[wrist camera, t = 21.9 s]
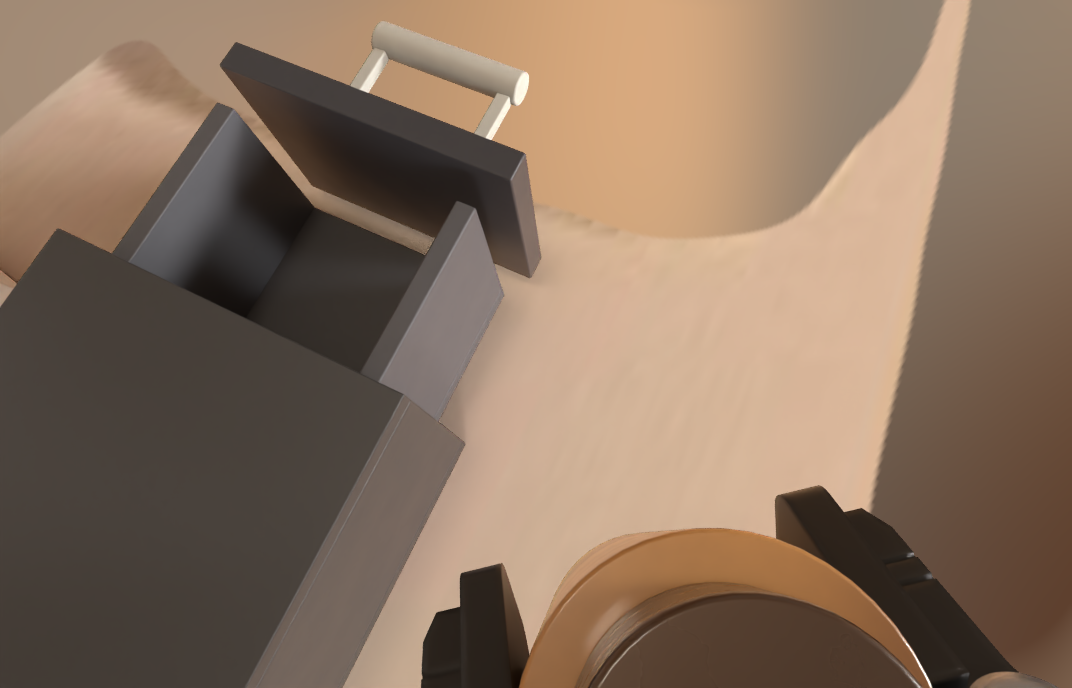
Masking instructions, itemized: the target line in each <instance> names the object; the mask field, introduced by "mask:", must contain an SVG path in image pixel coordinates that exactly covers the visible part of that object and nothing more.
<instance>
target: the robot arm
mask: <svg viewBox="0 0 1072 688" xmlns="http://www.w3.org/2000/svg"><path fill="white" fill-rule="evenodd" d="M775 517H776V539H778V540H781V541H783V542H786V543H788V544H791V545H793V546H796V547H798V548H801V549H803V550H805V551H806V552H808V553H810V554H812V555H814V556H816V557H817V558H819V559H821V560H823V561H825V562H826V563H828V564H829V565H831V566H832V567H834V568H835V569H836V570H838V571H839V572H841V573H842V574H843V575H845V576H846V577H848V578H849V579H850V580H852V581H853V582H854V583H855V584H856V585H857V586H858V587H860V588H861V589H862V590H863V591H864V592H865V593H866V594H867V595H868V596H869V597H871V598H872V599H873V600H874V601H875V602H876V603H877V605H878V606H879V607H880V608H881V609H882V610H883V611H884V612H885V614H886V615H887V616H888V617H889V618H890V619H891V620H892V622H893V623H894V624H895V625H896V627H897V628H898V629H899V631H900V632H901V634H902V635H903V637H904V638H905V639H906V641H907V642H908V644H909V645H910V646H911V648H912V649H913V651H914V653H915V655H916V656H917V658H918V660H919V662H920V664H921V665H922V667H923V669H924V671H925V673H926V675H927V676H928V678H929V680H930V683H931V685H932V688H1058V687H1056V686H1054V685H1053V684H1050V683H1049V682H1046V681H1044V680H1042V679H1039V678H1036V677H1034V676H1030V675H1027V674H1023V673H1019V672H1018V671H1017V670H1016V669H1014V668H1013V667H1012V666H1011V665H1010V664H1009V663H1008V662H1007V661H1006V660H1005V658H1003V656H1002V655H1001V654H1000V653H999V652H998V650H997V649H996V648H995V647H994V646H993V644H992V643H991V642H990V641H989V640H988V639H987V637H986V636H985V635H984V634H983V633H982V632H981V630H980V629H979V628H978V627H977V626H976V625H975V624H974V622H973V621H972V620H971V619H970V618H969V617H968V615H967V614H966V613H965V612H964V611H963V609H962V608H961V607H960V606H959V605H958V604H957V603H956V601H955V600H954V599H953V598H952V597H951V596H950V594H949V593H948V592H947V591H946V590H945V589H944V587H943V586H942V585H941V584H940V583H939V581H938V580H937V579H934V578H933V577H932V575H931V572H930V571H929V570H928V569H927V567H926V566H925V565H924V564H923V563H922V562H921V560H920V559H919V558H918V557H915V556H914V553H913V551H912V550H911V549H910V548H909V546H908V545H907V544H906V543H905V542H904V541H903V539H902V538H901V537H900V536H899V535H898V534H897V533H896V531H895V530H894V529H893V528H892V527H891V526H890V525H888V524H886V523H885V522H883V521H881V520H880V519H878V518H876V517H875V516H873V515H872V514H870V513H868V512H867V511H865V510H864V509H862V508H860V509H856V510H852V511H848V512H843V510H842V509H841V508H840V507H839V505H838V504H837V503H836V502H835V500H834V499H833V498H832V496H831V495H830V494H829V493H828V492H827V490H826V489H825V488H823V487H822V486H819V485H818V486H814V487H810V488H806V489H802V490H798V491H793V492H789V493H785V494H781V495H777V496H776V499H775ZM528 658H529V651H528V645H527V640H526V635H525V631H524V627H523V623H522V619H521V616H520V613H519V610H518V607H517V604H516V601H515V598H514V595H513V592H512V588H511V585H510V582H509V579H508V576H507V573H506V570H505V567H504V565H503V564H502V563H501V564H497V565H493V566H489V567H484V568H480V569H476V570H472V571H468V572H464V573H461V576H460V607H457V608H453V609H449V610H445V611H441V612H437V613H436V615H435V617H434V619H433V621H432V624H431V626H430V628H429V630H428V632H427V635H426V637H425V639H424V641H423V657H422V676H423V679H421V688H519V685H520V681H521V677H522V674H523V671H524V669H525V666H526V663H527V661H528Z"/></svg>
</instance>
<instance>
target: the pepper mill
mask: <svg viewBox="0 0 1072 688" xmlns="http://www.w3.org/2000/svg"><path fill="white" fill-rule="evenodd" d="M519 688H932V685H931V683H930V680H929V678H928V676H927V675H926V673H925V671H924V669H923V667H922V665H921V664H920V662H919V660H918V658H917V656H916V655H915V653H914V651H913V649H912V648H911V646H910V645H909V644H908V642H907V641H906V639H905V638H904V637H903V635H902V634H901V632H900V631H899V629H898V628H897V627H896V625H895V624H894V623H893V622H892V620H891V619H890V618H889V617H888V616H887V615H886V614H885V612H884V611H883V610H882V609H881V608H880V607H879V606H878V605H877V603H876V602H875V601H874V600H873V599H872V598H871V597H869V596H868V595H867V594H866V593H865V592H864V591H863V590H862V589H861V588H860V587H858V586H857V585H856V584H855V583H854V582H853V581H852V580H850V579H849V578H848V577H846V576H845V575H843V574H842V573H841V572H839V571H838V570H836V569H835V568H834V567H832V566H831V565H829V564H828V563H826V562H825V561H823V560H821V559H819V558H817V557H816V556H814V555H812V554H810V553H808V552H806V551H805V550H803V549H801V548H798V547H796V546H793V545H791V544H788V543H786V542H783V541H781V540H778V539H775V538H772V537H768V536H764V535H760V534H756V533H752V532H748V531H740V530H732V529H724V528H696V529H684V530H671V531H658V532H645V533H635V534H628V535H623V536H620V537H617V538H613V539H611V540H608V541H606V542H604V543H602V544H600V545H598V546H597V547H595V548H593V549H592V550H590V551H589V552H588V553H586V554H585V555H584V556H583V557H581V558H580V559H579V560H578V561H577V562H576V563H575V564H574V566H573V567H572V568H571V569H570V570H569V571H568V573H567V574H566V576H565V577H564V579H563V580H562V582H561V584H560V585H559V587H558V589H557V591H556V593H555V595H554V598H553V600H552V602H551V605H550V607H549V610H548V612H547V614H546V617H545V619H544V621H543V624H542V626H541V628H540V631H539V633H538V636H537V638H536V640H535V643H534V645H533V647H532V650H531V653H530V655H529V658H528V661H527V663H526V666H525V669H524V671H523V674H522V677H521V681H520V685H519Z"/></svg>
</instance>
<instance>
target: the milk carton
mask: <svg viewBox="0 0 1072 688" xmlns="http://www.w3.org/2000/svg"><path fill="white" fill-rule="evenodd" d="M16 284H17V283H16V282H14V281H13V280H12V279H11V278H9V277H8V276H7V275H6V274H4V273H3V272H2V271H1V270H0V306H1V305H2V304H3V302H4V301H5V300H6V298H7V297H8V295H9V294H10V293H11V291H12V290H13V289H14V287H15V286H16Z"/></svg>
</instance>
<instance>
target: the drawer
mask: <svg viewBox="0 0 1072 688" xmlns="http://www.w3.org/2000/svg"><path fill="white" fill-rule="evenodd" d="M371 43H372V48H373V50H372V51H371V53H370V54H369V56H368V58H367V59H366V61H365V62H364V64H363V65H362V67H361V68H360V70H359V72H358V73H357V75H356V76H355V78H354V80H353V81H352V83H351V84H350V86H349V85H346V84H344V83H341V82H339V81H336V80H333V79H331V78H328V77H326V76H323V75H320V74H318V73H315V72H313V71H310V70H307V69H305V68H302V67H299V66H297V65H294V64H292V63H289V62H286V61H284V60H281V59H279V58H276V57H274V56H271V55H268V54H266V53H263V52H261V51H258V50H255V49H253V48H250V47H248V46H245V45H242V44H240V43H237V42H236V43H235V44H234V45H233V47H232V48H231V49H230V51H229V52H228V54H227V55H226V56H225V58H224V59H223V61H222V62H221V63H220V67H221V68H222V69H223V71H224V72H225V73H226V74H227V76H228V77H229V78H230V80H231V81H232V82H233V84H234V85H235V86H236V87H237V89H238V90H239V91H240V93H241V94H242V95H243V96H244V98H245V99H246V100H247V102H248V103H249V104H250V106H251V107H252V108H253V109H254V111H255V112H256V113H257V115H258V116H259V117H260V119H261V120H262V121H263V122H264V124H265V125H266V126H267V128H268V129H269V130H270V131H271V133H272V134H273V135H274V137H275V138H276V139H277V141H278V142H279V143H280V144H281V146H282V147H283V148H284V150H285V151H286V152H287V154H288V155H289V156H290V157H291V159H292V160H293V161H294V163H295V164H296V165H297V166H298V168H299V169H300V170H301V172H302V173H303V174H304V176H305V177H306V178H307V179H308V181H309V182H310V183H311V185H312V186H314V187H316V188H319V189H321V190H323V191H326V192H328V193H330V194H333V195H335V196H337V197H340V198H342V199H345V200H347V201H349V202H352V203H354V204H356V205H359V206H361V207H363V208H366V209H368V210H370V211H373V212H375V213H378V214H380V215H382V216H385V217H387V218H389V219H392V220H394V221H396V222H399V223H401V224H403V225H406V226H408V227H411V228H413V229H415V230H418V231H420V232H422V233H425V234H427V235H429V236H432V237H434V238H435V239H434V241H433V243H432V245H431V247H430V248H429V250H428V252H427V254H426V255H423V254H421V253H419V252H416V251H414V250H412V249H409V248H407V247H405V246H402V245H400V244H398V243H395V242H393V241H391V240H388V239H386V238H384V237H381V236H379V235H377V234H375V233H372V232H370V231H368V230H365V229H363V228H361V227H358V226H356V225H354V224H351V223H349V222H347V221H344V220H342V219H340V218H337V217H335V216H333V215H330V214H328V213H326V212H323V211H321V210H319V209H317V208H314V206H313V205H312V204H311V203H310V201H309V200H308V199H307V198H306V197H305V195H304V194H303V193H302V192H301V190H300V189H299V188H298V187H297V186H296V184H295V183H294V182H293V181H292V179H291V178H290V177H289V176H288V175H287V173H286V172H285V171H284V170H283V168H282V167H281V166H280V165H279V164H278V162H277V161H276V160H275V159H274V157H273V156H272V155H271V154H270V153H269V151H268V150H267V149H266V148H265V146H264V145H263V144H262V143H261V142H260V140H259V139H258V138H257V137H256V135H255V134H254V133H253V132H252V131H251V129H250V128H249V127H248V126H247V124H246V123H245V122H244V121H243V120H242V118H241V117H240V116H239V115H238V113H237V112H236V111H235V110H234V109H232V108H230V107H227V106H225V105H223V104H220V103H217V104H216V105H215V106H214V108H213V109H212V111H211V112H210V114H209V115H208V117H207V118H206V119H205V121H204V122H203V124H202V125H201V127H200V128H199V129H198V131H197V132H196V134H195V135H194V137H193V138H192V139H191V141H190V142H189V144H188V145H187V147H186V148H185V150H184V151H183V152H182V154H181V155H180V157H179V158H178V160H177V161H176V162H175V164H174V165H173V167H172V168H171V170H170V171H169V173H168V174H167V175H166V177H165V178H164V180H163V181H162V183H161V184H160V185H159V187H158V188H157V190H156V191H155V193H154V194H153V195H152V197H151V198H150V200H149V201H148V203H147V204H146V206H145V207H144V208H143V210H142V211H141V213H140V214H139V216H138V217H137V218H136V220H135V221H134V223H133V224H132V226H131V227H130V228H129V230H128V231H127V233H126V234H125V236H124V237H123V239H122V240H121V241H120V243H119V244H118V246H117V247H116V249H115V250H114V251H113V253H112V254H113V255H115V256H117V257H119V258H122V259H124V260H126V261H128V262H130V263H132V264H134V265H136V266H138V267H140V268H142V269H144V270H147V271H149V272H151V273H153V274H155V275H157V276H159V277H161V278H163V279H165V280H167V281H169V282H171V283H174V284H176V285H178V286H180V287H182V288H184V289H186V290H188V291H190V292H192V293H194V294H196V295H199V296H201V297H203V298H205V299H207V300H209V301H211V302H213V303H215V304H217V305H219V306H221V307H223V308H226V309H228V310H230V311H232V312H234V313H236V314H238V315H240V316H242V317H244V318H246V319H248V320H251V321H253V322H255V323H257V324H259V325H261V326H263V327H265V328H267V329H269V330H271V331H273V332H276V333H278V334H280V335H282V336H284V337H286V338H288V339H290V340H292V341H294V342H296V343H298V344H300V345H303V346H305V347H307V348H309V349H311V350H313V351H315V352H317V353H319V354H321V355H323V356H325V357H328V358H330V359H332V360H334V361H336V362H338V363H340V364H342V365H344V366H346V367H348V368H350V369H352V370H355V371H357V372H359V373H361V374H363V375H365V376H367V377H369V378H371V379H373V380H375V381H377V382H380V383H382V384H384V385H386V386H388V387H390V388H392V389H394V390H396V391H398V392H400V393H402V394H404V395H405V396H407V397H408V398H409V399H410V400H411V401H413V402H414V403H415V404H417V405H418V406H419V407H420V408H422V409H423V410H424V411H425V412H427V413H428V414H429V415H430V416H432V417H433V418H434V419H436V420H437V421H439V419H440V417H441V415H442V413H443V411H444V409H445V408H446V406H447V404H448V402H449V400H450V398H451V396H452V394H453V392H454V390H455V388H456V386H457V385H458V383H459V381H460V379H461V377H462V375H463V373H464V371H465V369H466V367H467V365H468V363H469V362H470V360H471V358H472V356H473V354H474V352H475V350H476V348H477V346H478V344H479V342H480V340H481V339H482V337H483V335H484V333H485V331H486V329H487V327H488V325H489V323H490V321H491V319H492V317H493V316H494V314H495V312H496V310H497V308H498V306H499V304H500V302H501V300H502V298H503V296H504V293H503V290H502V287H501V284H500V281H499V278H498V275H497V272H496V269H495V266H494V263H495V264H498V265H500V266H503V267H505V268H507V269H510V270H512V271H514V272H517V273H519V274H521V275H524V276H526V277H528V278H531V277H532V275H533V273H534V271H535V269H536V267H537V265H538V263H539V261H540V260H541V254H540V247H539V240H538V234H537V227H536V220H535V214H534V207H533V200H532V194H531V188H530V181H529V174H528V167H527V160H526V154H525V153H523V152H520V151H518V150H515V149H513V148H510V147H508V146H505V145H502V144H500V143H497V142H495V141H492V138H493V136H494V135H495V133H496V131H497V129H498V128H499V126H500V124H501V122H502V120H503V119H504V117H505V115H506V113H507V111H508V110H509V108H510V106H511V104H512V105H515V106H518V105H520V104H521V102H522V101H523V99H524V97H525V95H526V92H527V89H528V84H529V76H528V73H527V72H525V71H522V70H519V69H517V68H514V67H511V66H508V65H505V64H503V63H500V62H497V61H494V60H492V59H489V58H486V57H483V56H480V55H477V54H475V53H472V52H469V51H466V50H464V49H461V48H458V47H455V46H452V45H449V44H447V43H444V42H441V41H438V40H436V39H433V38H430V37H427V36H425V35H422V34H419V33H416V32H413V31H411V30H408V29H405V28H402V27H399V26H397V25H394V24H391V23H388V22H386V21H382V22H379V23H378V24H377V25H376V27H375V29H374V31H373V34H372V42H371ZM388 59H391V60H393V61H396V62H399V63H402V64H404V65H407V66H409V67H412V68H415V69H418V70H420V71H423V72H426V73H428V74H431V75H434V76H437V77H439V78H442V79H445V80H447V81H450V82H453V83H455V84H458V85H461V86H463V87H466V88H469V89H471V90H474V91H477V92H480V93H482V94H485V95H488V96H490V97H493V98H494V99H493V101H492V103H491V104H490V106H489V108H488V110H487V111H486V113H485V115H484V116H483V118H482V120H481V122H480V124H479V125H478V127H477V129H476V131H475V132H474V133H471V132H468V131H466V130H463V129H461V128H458V127H455V126H453V125H450V124H448V123H445V122H443V121H440V120H437V119H435V118H432V117H429V116H427V115H424V114H422V113H419V112H417V111H414V110H411V109H409V108H406V107H403V106H401V105H398V104H396V103H393V102H391V101H388V100H385V99H383V98H380V97H378V96H375V95H372V94H370V93H369V91H370V89H371V88H372V86H373V85H374V83H375V81H376V80H377V78H378V77H379V75H380V74H381V72H382V70H383V69H384V67H385V66H386V64H387V62H388Z"/></svg>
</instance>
